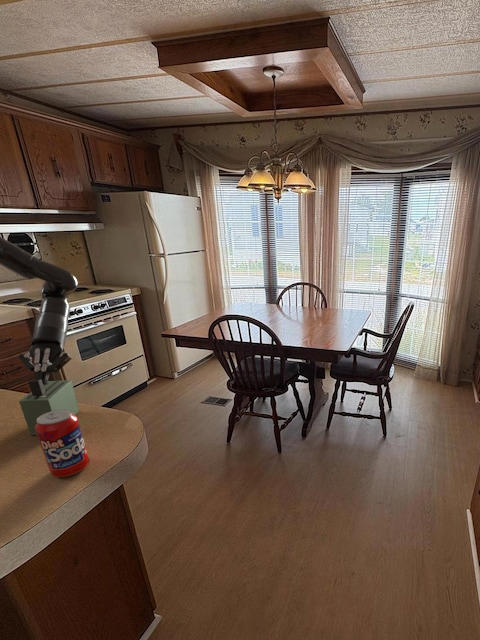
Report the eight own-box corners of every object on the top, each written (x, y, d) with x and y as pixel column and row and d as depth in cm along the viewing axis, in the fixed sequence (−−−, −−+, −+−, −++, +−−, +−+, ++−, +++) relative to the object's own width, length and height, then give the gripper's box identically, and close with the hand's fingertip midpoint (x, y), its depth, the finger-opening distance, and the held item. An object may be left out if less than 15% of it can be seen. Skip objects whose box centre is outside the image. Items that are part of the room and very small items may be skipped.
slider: (36, 393, 95) (31, 379, 93) (45, 393, 96) (41, 378, 94) (32, 396, 94) (28, 381, 92) (42, 395, 94) (38, 381, 92)
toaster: (55, 412, 107) (45, 380, 103) (79, 411, 109) (71, 379, 104) (30, 435, 96) (18, 400, 91) (59, 434, 97) (48, 399, 93)
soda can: (76, 455, 88) (61, 404, 83) (97, 464, 86) (83, 412, 80) (43, 474, 82) (24, 420, 76) (65, 483, 79) (47, 428, 73)
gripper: (17, 325, 97) (2, 382, 90) (69, 324, 99) (59, 380, 93) (33, 337, 103) (21, 391, 97) (81, 336, 106) (73, 388, 100)
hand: (39, 385), depth 95 cm, fingers closed
